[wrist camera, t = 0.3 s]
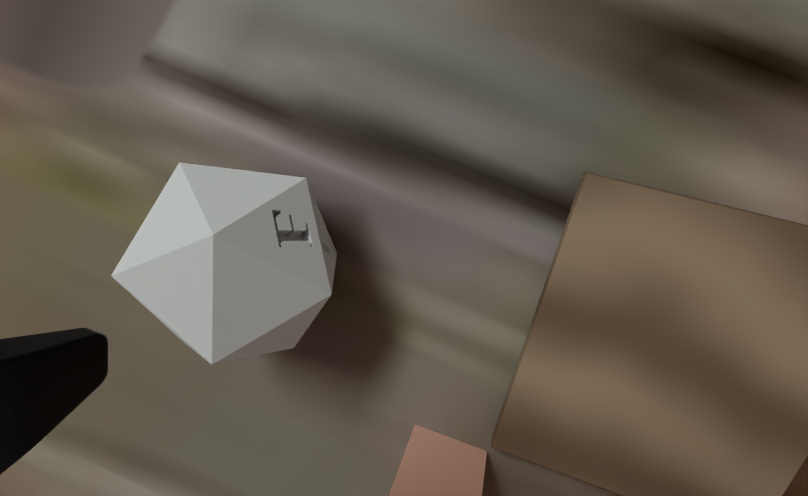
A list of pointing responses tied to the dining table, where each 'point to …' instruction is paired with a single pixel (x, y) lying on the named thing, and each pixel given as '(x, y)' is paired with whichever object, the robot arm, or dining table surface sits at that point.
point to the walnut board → (666, 348)
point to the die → (232, 261)
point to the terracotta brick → (439, 467)
